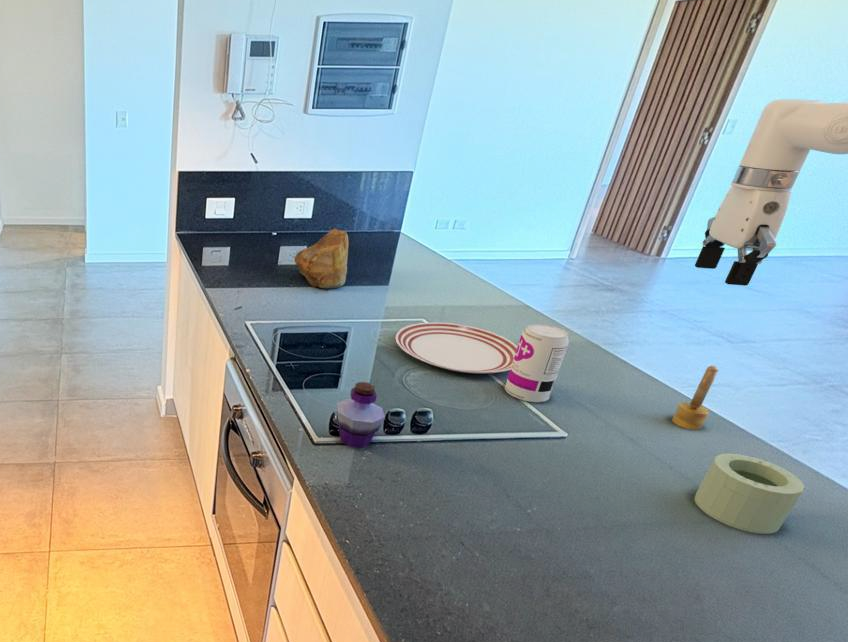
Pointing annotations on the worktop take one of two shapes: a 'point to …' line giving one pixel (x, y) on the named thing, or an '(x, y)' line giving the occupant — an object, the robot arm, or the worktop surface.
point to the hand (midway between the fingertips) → (719, 275)
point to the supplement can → (537, 362)
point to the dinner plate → (457, 347)
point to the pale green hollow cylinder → (748, 493)
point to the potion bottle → (359, 416)
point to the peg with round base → (696, 404)
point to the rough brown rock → (325, 260)
